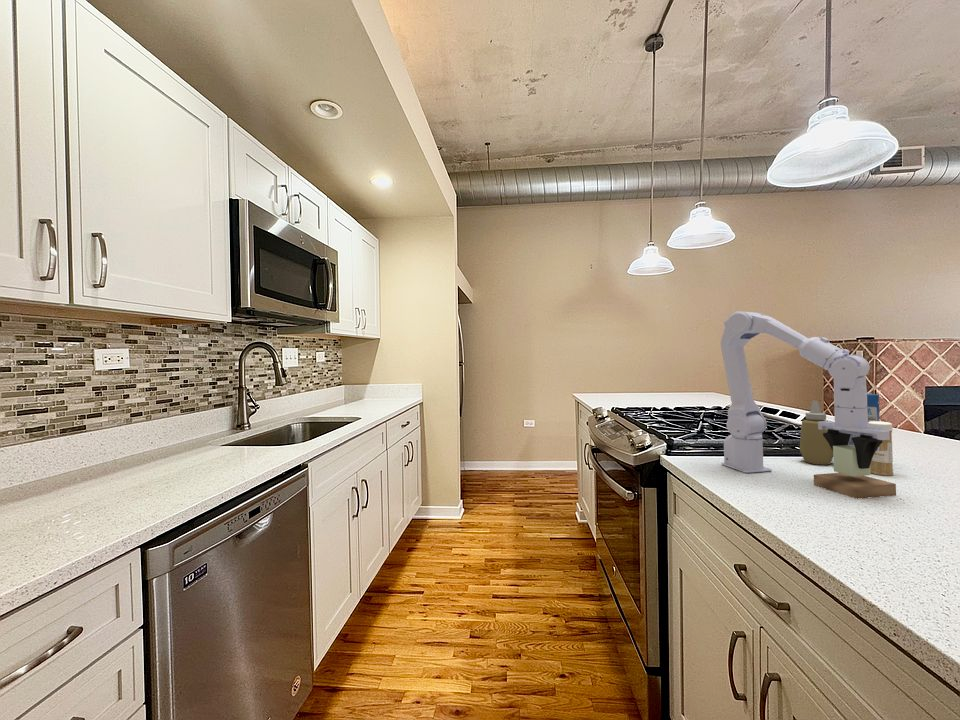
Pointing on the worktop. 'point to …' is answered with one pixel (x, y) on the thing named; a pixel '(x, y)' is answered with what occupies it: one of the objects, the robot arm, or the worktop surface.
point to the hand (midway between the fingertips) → (852, 465)
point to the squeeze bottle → (814, 438)
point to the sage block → (847, 461)
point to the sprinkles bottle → (882, 451)
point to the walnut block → (855, 485)
